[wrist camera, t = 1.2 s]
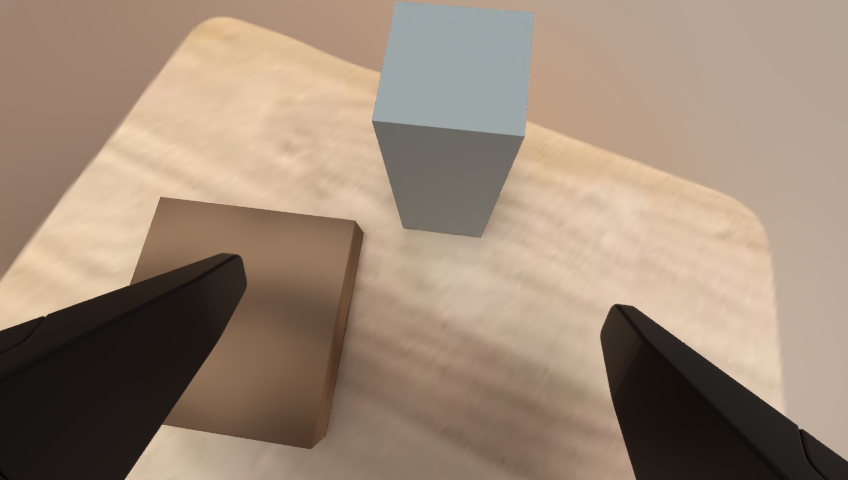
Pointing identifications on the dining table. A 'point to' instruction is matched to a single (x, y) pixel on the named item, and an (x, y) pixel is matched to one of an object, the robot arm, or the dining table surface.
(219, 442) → the dining table surface
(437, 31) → the slate post
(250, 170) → the dining table surface
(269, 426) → the walnut board
